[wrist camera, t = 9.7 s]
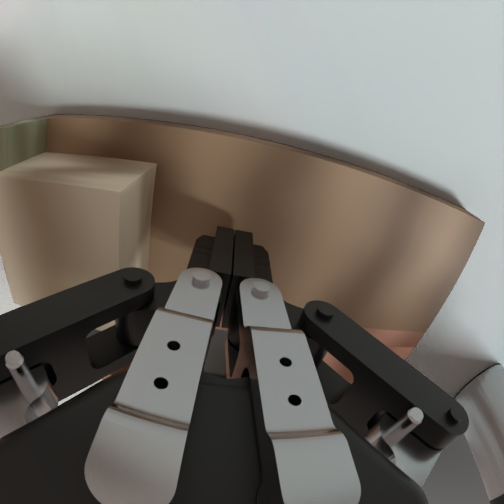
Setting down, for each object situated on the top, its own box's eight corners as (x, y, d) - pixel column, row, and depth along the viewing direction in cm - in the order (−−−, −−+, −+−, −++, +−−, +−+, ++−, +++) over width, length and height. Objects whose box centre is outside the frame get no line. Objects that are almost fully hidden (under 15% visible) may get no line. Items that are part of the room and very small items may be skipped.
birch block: (156, 163, 11) (120, 191, 8) (147, 281, 14) (123, 336, 10) (45, 152, 10) (-10, 176, 7) (51, 259, 13) (14, 302, 10)
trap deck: (466, 210, 15) (516, 246, 10) (358, 391, 23) (372, 436, 19) (55, 114, 11) (-8, 128, 7) (75, 350, 20) (54, 396, 15)
